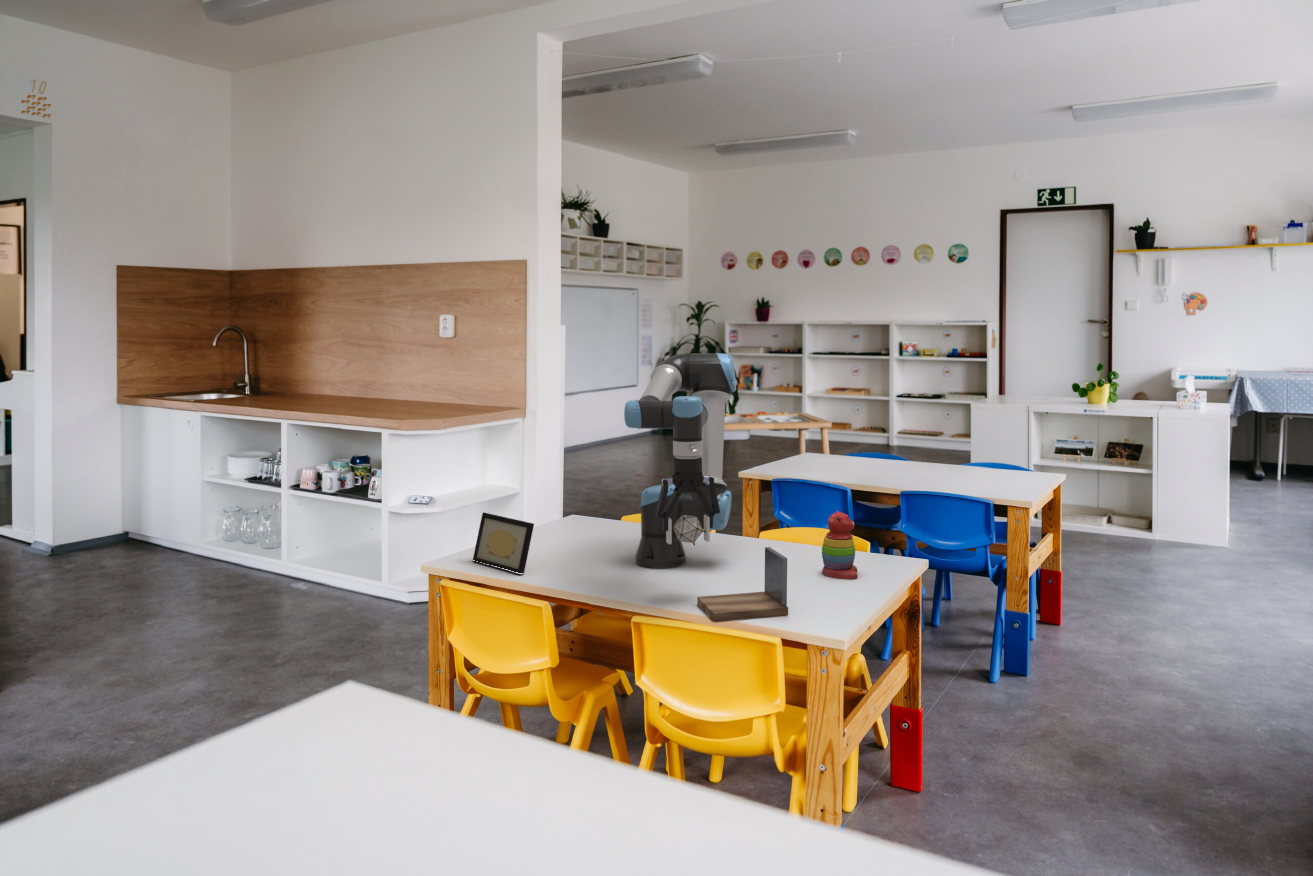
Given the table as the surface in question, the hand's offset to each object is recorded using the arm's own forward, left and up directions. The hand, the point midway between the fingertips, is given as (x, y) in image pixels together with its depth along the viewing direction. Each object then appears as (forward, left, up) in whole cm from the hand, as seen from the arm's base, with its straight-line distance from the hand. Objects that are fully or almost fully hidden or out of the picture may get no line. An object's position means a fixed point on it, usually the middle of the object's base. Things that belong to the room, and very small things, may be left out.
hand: (687, 541), depth 235 cm
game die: (0, 0, -1) cm, 1 cm away
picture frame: (-44, -43, -15) cm, 63 cm away
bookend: (+14, +19, -13) cm, 27 cm away
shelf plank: (+14, +10, -15) cm, 23 cm away
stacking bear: (-10, +48, -15) cm, 51 cm away
